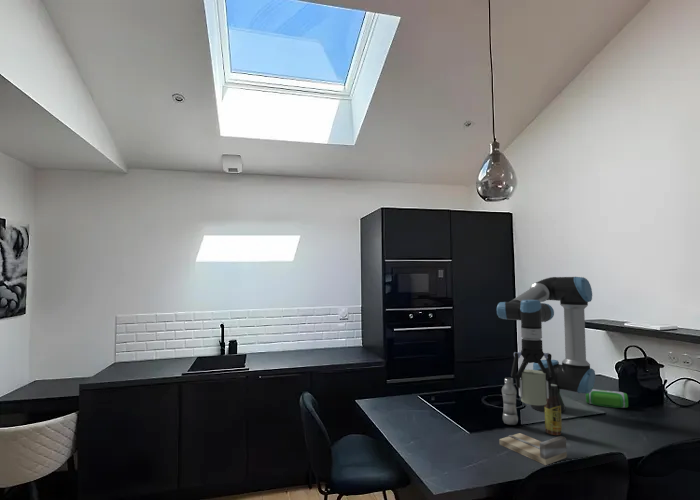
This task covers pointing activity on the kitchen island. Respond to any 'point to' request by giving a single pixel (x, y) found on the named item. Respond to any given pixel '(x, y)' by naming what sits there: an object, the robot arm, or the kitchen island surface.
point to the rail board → (537, 447)
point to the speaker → (607, 398)
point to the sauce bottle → (553, 412)
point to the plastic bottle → (509, 402)
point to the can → (534, 387)
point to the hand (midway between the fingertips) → (533, 396)
